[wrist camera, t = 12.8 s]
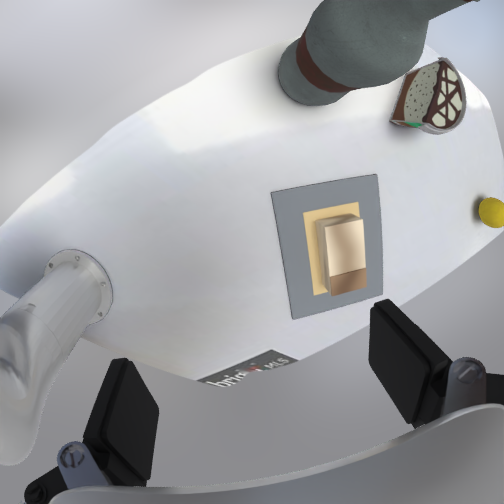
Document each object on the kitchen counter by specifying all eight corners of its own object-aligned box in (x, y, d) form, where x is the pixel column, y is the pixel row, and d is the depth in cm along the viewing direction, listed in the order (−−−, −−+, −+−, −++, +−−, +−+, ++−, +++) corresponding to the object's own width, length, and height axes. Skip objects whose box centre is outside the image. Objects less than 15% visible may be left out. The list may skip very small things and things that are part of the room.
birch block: (350, 212, 40) (363, 219, 36) (354, 275, 44) (366, 286, 40) (314, 220, 40) (325, 227, 36) (322, 283, 43) (331, 296, 39)
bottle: (345, 105, 36) (532, 68, 7) (283, 114, 35) (441, 41, 7) (328, 46, 32) (476, -55, 4) (266, 52, 32) (361, -101, 4)
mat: (292, 318, 45) (293, 320, 45) (271, 192, 39) (271, 192, 38) (381, 293, 46) (383, 294, 45) (375, 174, 39) (377, 174, 39)
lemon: (477, 227, 45) (505, 239, 37) (467, 208, 43) (497, 219, 35) (489, 207, 44) (517, 217, 36) (480, 188, 42) (509, 196, 34)
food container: (414, 149, 38) (457, 152, 29) (386, 129, 37) (427, 127, 28) (434, 88, 35) (474, 82, 26) (407, 67, 34) (447, 54, 24)
